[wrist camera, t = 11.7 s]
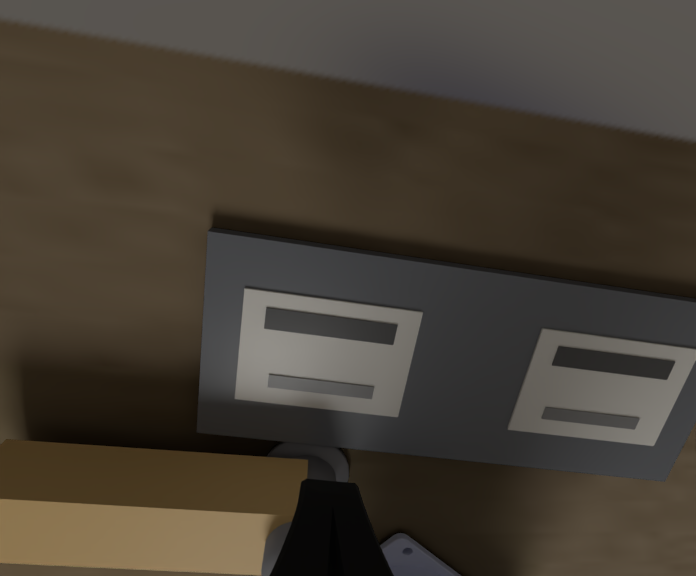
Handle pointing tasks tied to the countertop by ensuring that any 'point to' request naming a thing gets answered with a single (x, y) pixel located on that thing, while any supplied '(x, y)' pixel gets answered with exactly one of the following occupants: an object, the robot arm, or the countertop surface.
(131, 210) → the countertop surface
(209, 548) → the bar
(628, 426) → the label plate
